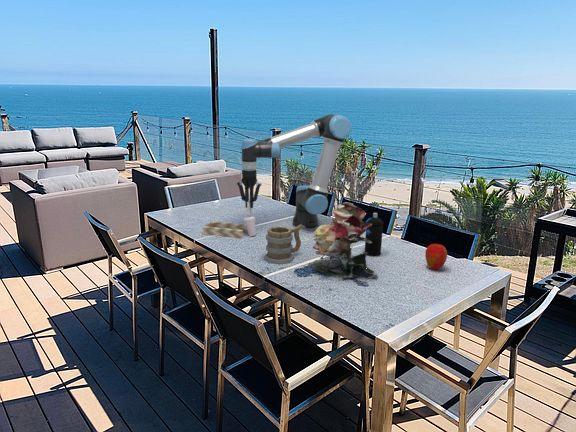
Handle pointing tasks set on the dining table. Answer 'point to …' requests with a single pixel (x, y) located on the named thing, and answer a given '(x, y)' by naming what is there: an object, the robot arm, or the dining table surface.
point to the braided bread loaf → (225, 229)
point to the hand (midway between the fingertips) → (249, 213)
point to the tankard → (282, 244)
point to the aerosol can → (374, 236)
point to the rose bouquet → (342, 243)
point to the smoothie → (250, 225)
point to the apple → (435, 256)
